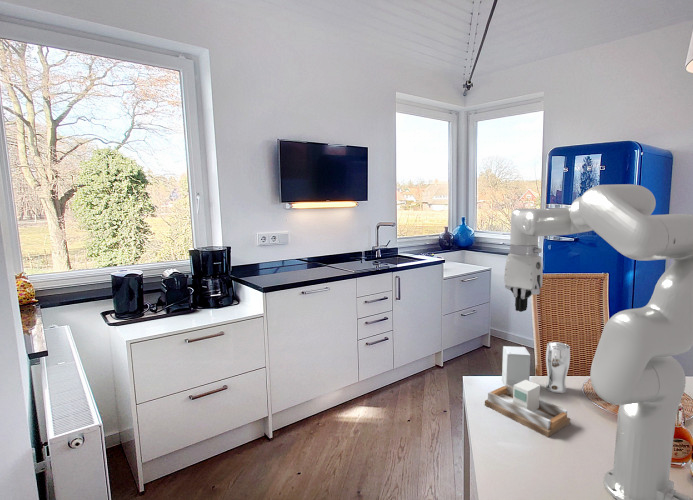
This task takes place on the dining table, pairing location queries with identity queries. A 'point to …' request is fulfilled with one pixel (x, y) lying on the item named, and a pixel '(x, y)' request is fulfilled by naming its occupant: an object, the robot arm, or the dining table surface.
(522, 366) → the supplement box
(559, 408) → the rail board
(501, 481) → the dining table surface
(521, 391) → the block
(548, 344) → the beer glass
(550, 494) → the dining table surface
